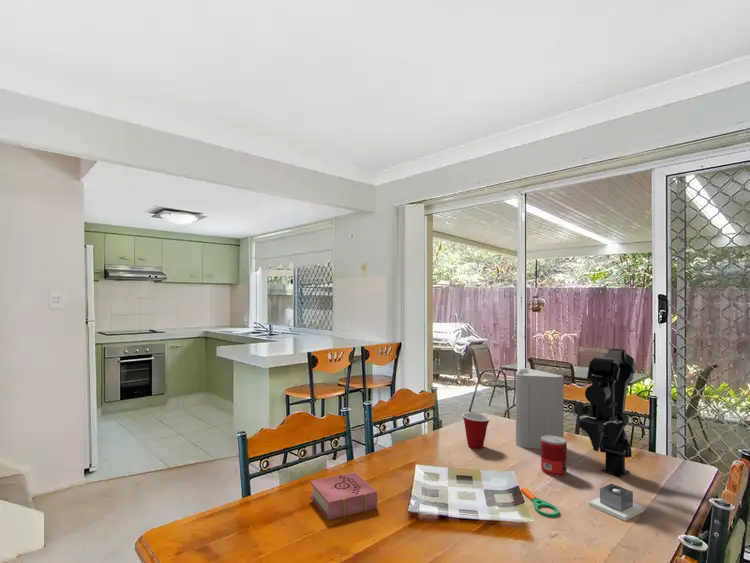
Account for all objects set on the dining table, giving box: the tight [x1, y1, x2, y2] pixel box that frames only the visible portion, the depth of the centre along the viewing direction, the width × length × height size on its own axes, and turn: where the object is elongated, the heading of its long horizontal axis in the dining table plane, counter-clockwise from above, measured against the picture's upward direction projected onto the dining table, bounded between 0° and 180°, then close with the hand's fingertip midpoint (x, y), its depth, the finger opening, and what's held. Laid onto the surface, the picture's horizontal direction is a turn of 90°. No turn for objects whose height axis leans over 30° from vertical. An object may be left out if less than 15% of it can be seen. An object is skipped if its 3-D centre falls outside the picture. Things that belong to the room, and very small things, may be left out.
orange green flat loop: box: [520, 487, 560, 518], centre depth 125 cm, size 15×6×2 cm, turn 12°
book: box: [309, 471, 378, 521], centre depth 124 cm, size 14×15×5 cm
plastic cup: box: [461, 412, 491, 450], centre depth 171 cm, size 11×11×12 cm
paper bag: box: [515, 367, 565, 450], centre depth 176 cm, size 19×15×28 cm
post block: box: [588, 489, 645, 522], centre depth 123 cm, size 10×10×5 cm
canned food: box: [540, 435, 568, 477], centre depth 148 cm, size 8×8×11 cm
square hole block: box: [599, 483, 634, 512], centre depth 123 cm, size 6×6×4 cm
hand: (604, 448), depth 137 cm, fingers open, 9 cm apart
